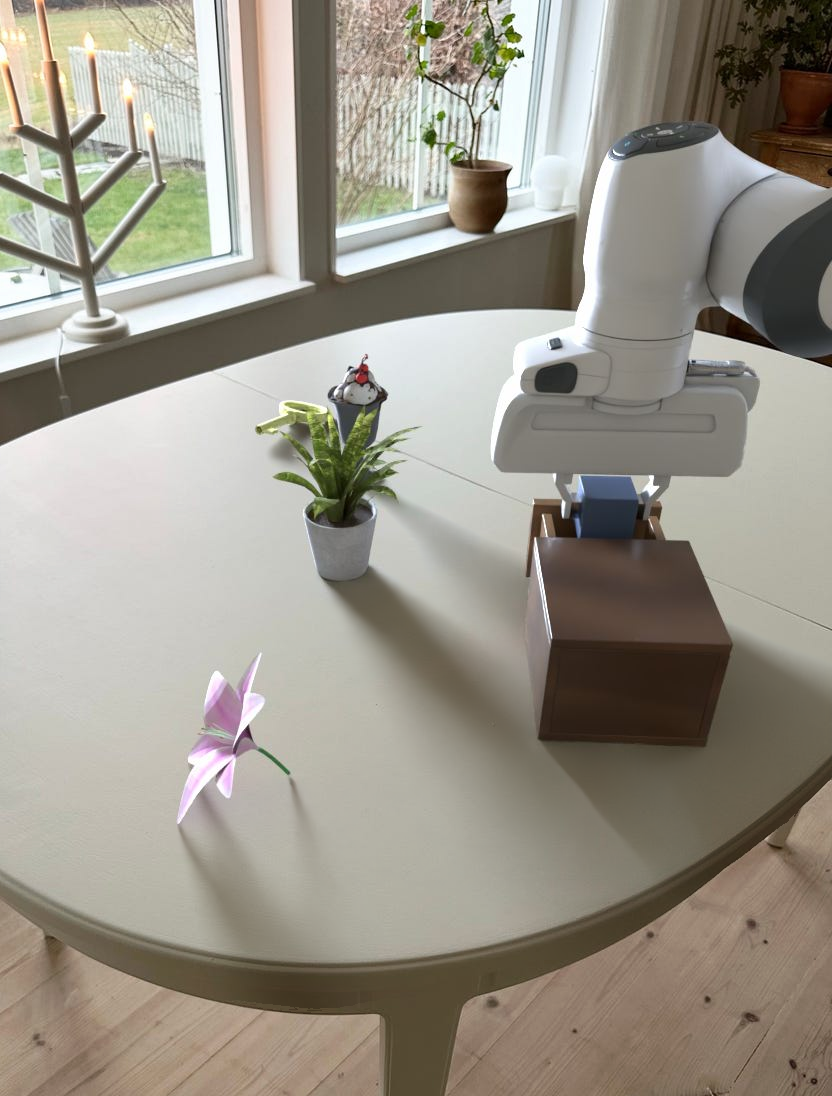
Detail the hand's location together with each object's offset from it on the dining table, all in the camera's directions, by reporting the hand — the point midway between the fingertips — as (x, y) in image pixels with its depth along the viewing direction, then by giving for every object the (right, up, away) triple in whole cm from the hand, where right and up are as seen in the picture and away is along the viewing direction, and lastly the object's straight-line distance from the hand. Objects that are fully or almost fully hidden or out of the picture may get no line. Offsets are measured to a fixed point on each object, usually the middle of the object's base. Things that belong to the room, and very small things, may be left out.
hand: (603, 516), depth 82 cm
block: (0, -1, +1) cm, 2 cm away
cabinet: (-1, -14, -4) cm, 15 cm away
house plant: (-23, -4, +11) cm, 25 cm away
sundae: (-21, +8, +28) cm, 36 cm away
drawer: (0, -7, +5) cm, 8 cm away
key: (-30, +17, +40) cm, 53 cm away
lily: (-31, -21, -12) cm, 39 cm away
